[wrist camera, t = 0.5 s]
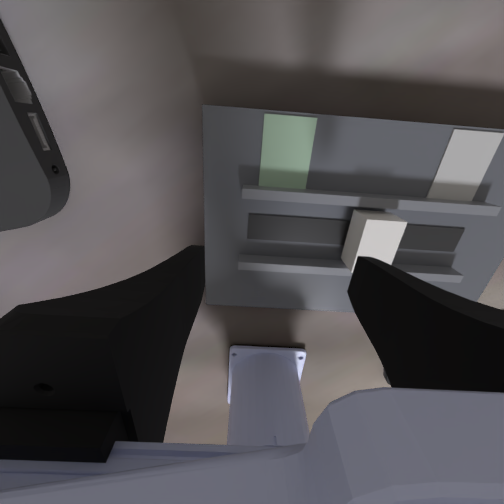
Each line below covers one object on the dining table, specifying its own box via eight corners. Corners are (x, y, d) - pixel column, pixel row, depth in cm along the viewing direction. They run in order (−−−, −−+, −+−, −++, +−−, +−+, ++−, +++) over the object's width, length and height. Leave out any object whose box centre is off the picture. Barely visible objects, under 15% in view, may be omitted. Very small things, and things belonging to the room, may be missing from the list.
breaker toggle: (373, 260, 17) (387, 274, 16) (340, 257, 17) (351, 272, 15) (389, 211, 16) (407, 222, 14) (353, 209, 16) (367, 219, 14)
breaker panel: (445, 300, 23) (478, 328, 19) (210, 286, 22) (203, 314, 19) (533, 134, 16) (605, 135, 13) (209, 108, 16) (197, 102, 12)
